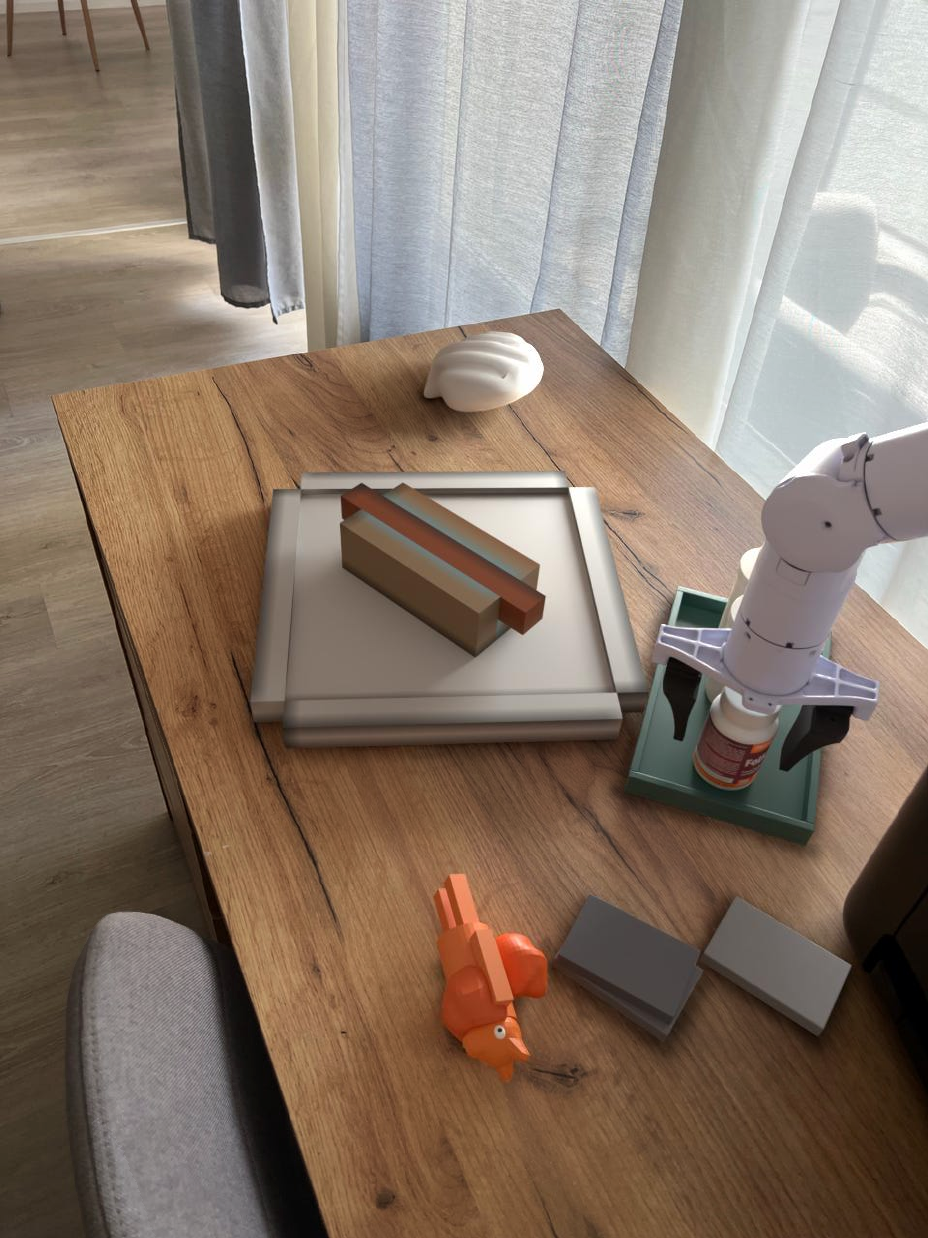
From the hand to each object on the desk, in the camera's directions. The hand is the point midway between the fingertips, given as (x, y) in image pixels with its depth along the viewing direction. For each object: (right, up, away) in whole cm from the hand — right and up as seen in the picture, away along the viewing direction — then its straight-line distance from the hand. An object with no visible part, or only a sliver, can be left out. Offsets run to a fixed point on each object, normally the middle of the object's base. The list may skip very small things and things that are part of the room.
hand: (731, 745), depth 70 cm
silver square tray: (-21, +10, +13) cm, 27 cm away
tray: (+2, +2, +6) cm, 7 cm away
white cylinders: (+3, +5, +9) cm, 11 cm away
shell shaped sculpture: (-18, +34, +36) cm, 52 cm away
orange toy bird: (-18, -14, -10) cm, 25 cm away
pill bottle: (0, -2, +2) cm, 3 cm away
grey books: (-5, -13, -9) cm, 17 cm away
